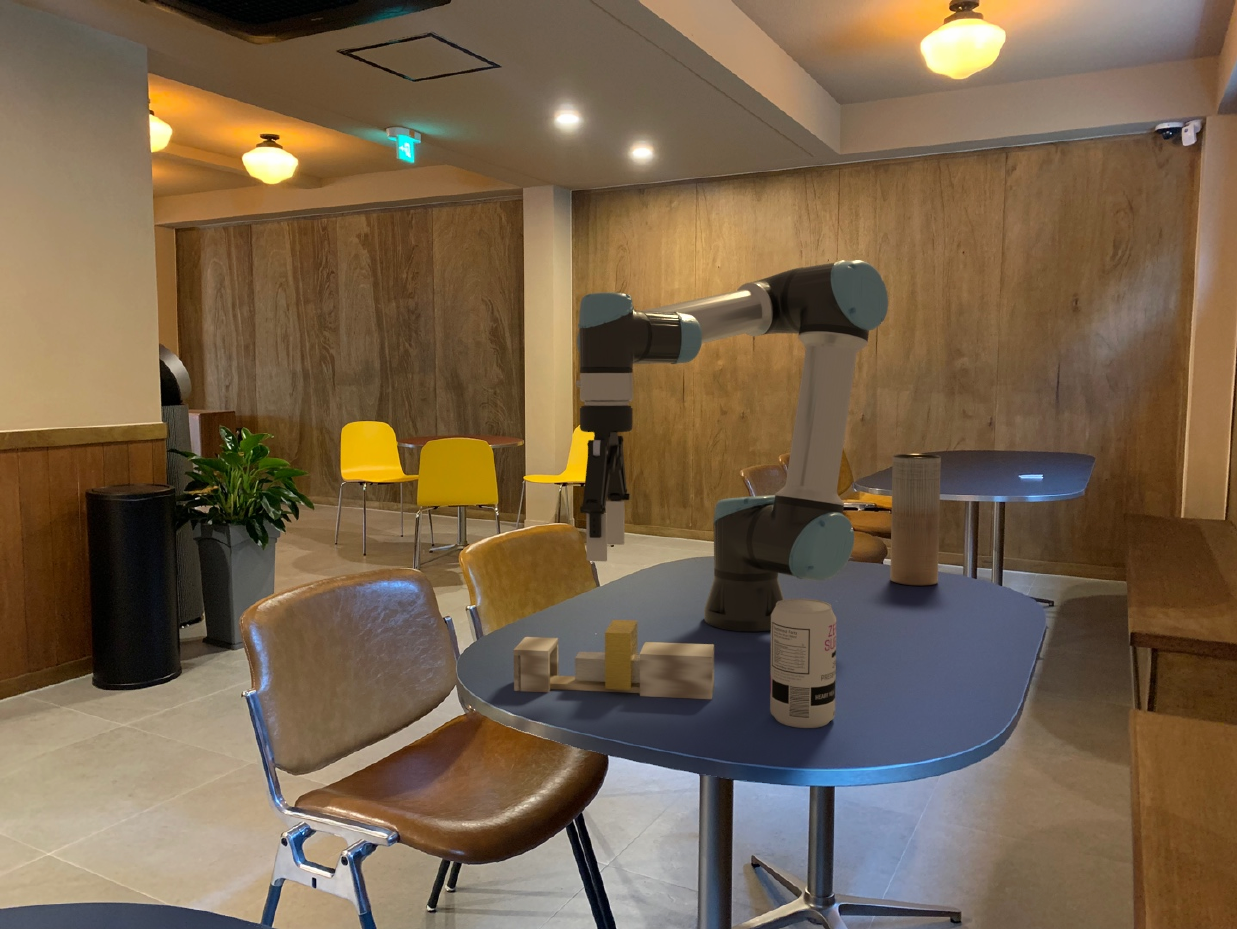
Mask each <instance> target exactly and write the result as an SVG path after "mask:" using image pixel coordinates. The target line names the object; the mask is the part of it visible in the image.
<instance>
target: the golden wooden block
mask: <svg viewBox="0 0 1237 929" xmlns="http://www.w3.org/2000/svg"><path fill="white" fill-rule="evenodd" d="M713 668H714V669H715V656H714V657H713V659H712V685H713ZM574 676H575V680H585V681H605V689H624V690H631V688H632V686H633V684H634V683H640V653H638V620H629V619H612V620H611V622H610V623H609V625H608V627H607V628H606V630H605V632H604V652H600V651H599V652H598V651H578V653H577V655H576V656H575V657H574Z"/></svg>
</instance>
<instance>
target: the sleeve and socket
mask: <svg viewBox="0 0 1237 929" xmlns="http://www.w3.org/2000/svg"><path fill="white" fill-rule="evenodd" d="M639 654H640V683H634V684H633V686H632V688H631V690H624V689H605V681H585V680H575V675H573V676H572V675H570V676H569V675H559V674H560V673H559V672H560V671H559V670H560V669H559V668H560V667H559V666H560V664H559V663H560V662H559V660H560V658H559V637H540V636H539V637H538V636H534V637H532V636H525V637H524V638H522V640H521V641H520V642H519V643H518V644H517V645H516V646H515V647H514V648H513V691H515V692H532V693H550V691H551V690H565V691H586V692H587V691H589V692H608V693H609V692H611V693H629V694H630V693H631V694H639V696H640V697H650V698H651V697H653V698H675V699H676V698H677V699H696V700H712V699H713V693H714V687H715V667H714V668H713V685H712V659H713V657H714V658H715V644H713V643H711V644H710V643H709V644H707V643H705V644H704V643H683V642H682V643H680V642H658V641H657V642H653V641H651V642H650V641H645V642H644V644H643V646H642V648H641V650H640V653H639Z"/></svg>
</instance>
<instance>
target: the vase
mask: <svg viewBox="0 0 1237 929" xmlns="http://www.w3.org/2000/svg"><path fill="white" fill-rule="evenodd" d="M941 458H942V457H941V456H940V455H938V454H926V453H902V454H901V453H900V454H899V453H898V454H894V455H893V456H892V476H891V477H892V478H891V480H892V481H891V486H892V487H891V523H890V524H891V526H890V527H891V528H890V530H891V531H890V534H891V538H890V574H889V575H890V580H891V582H892V583H895V584H898V585H899V584H900V585H905V586H913V587H926V586H934V585H936V584H937V583H938V582H939V581H938V580H939V550H940V549H939V546H940V545H939V542H940V539H939V538H940V501H941V499H940V498H941V463H942V462H941V460H942V459H941Z"/></svg>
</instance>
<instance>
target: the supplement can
mask: <svg viewBox="0 0 1237 929" xmlns="http://www.w3.org/2000/svg"><path fill="white" fill-rule="evenodd" d="M836 661H837V616H836V615H835V614H834V611H833V609H832V605H831V603H828V602H826V601H823V600H820V599H813V598H788V599H787V598H786V599H784V600H781V601H778V602H777V603H776V607H775V608H774V610H773V612H772V614H771V630H770V684H769V685H770V689H769V690H770V693H769V694H770V695H769V696H770V697H769V699H770V700H769V701H770V703H769V704H770V705H769V706H770V708H769V711H770V714H771V716H773V717H774V718H775V720H776V721H777V722H779V724H782V725H785V726H788V727H792V728H798V729H816V728H820V727H825V726H827V725H828V724H829V723H830V721H833V720H834V718H835V716H836V678H837V677H836V674H837V672H836V670H837V669H836V666H837V662H836Z"/></svg>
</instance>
